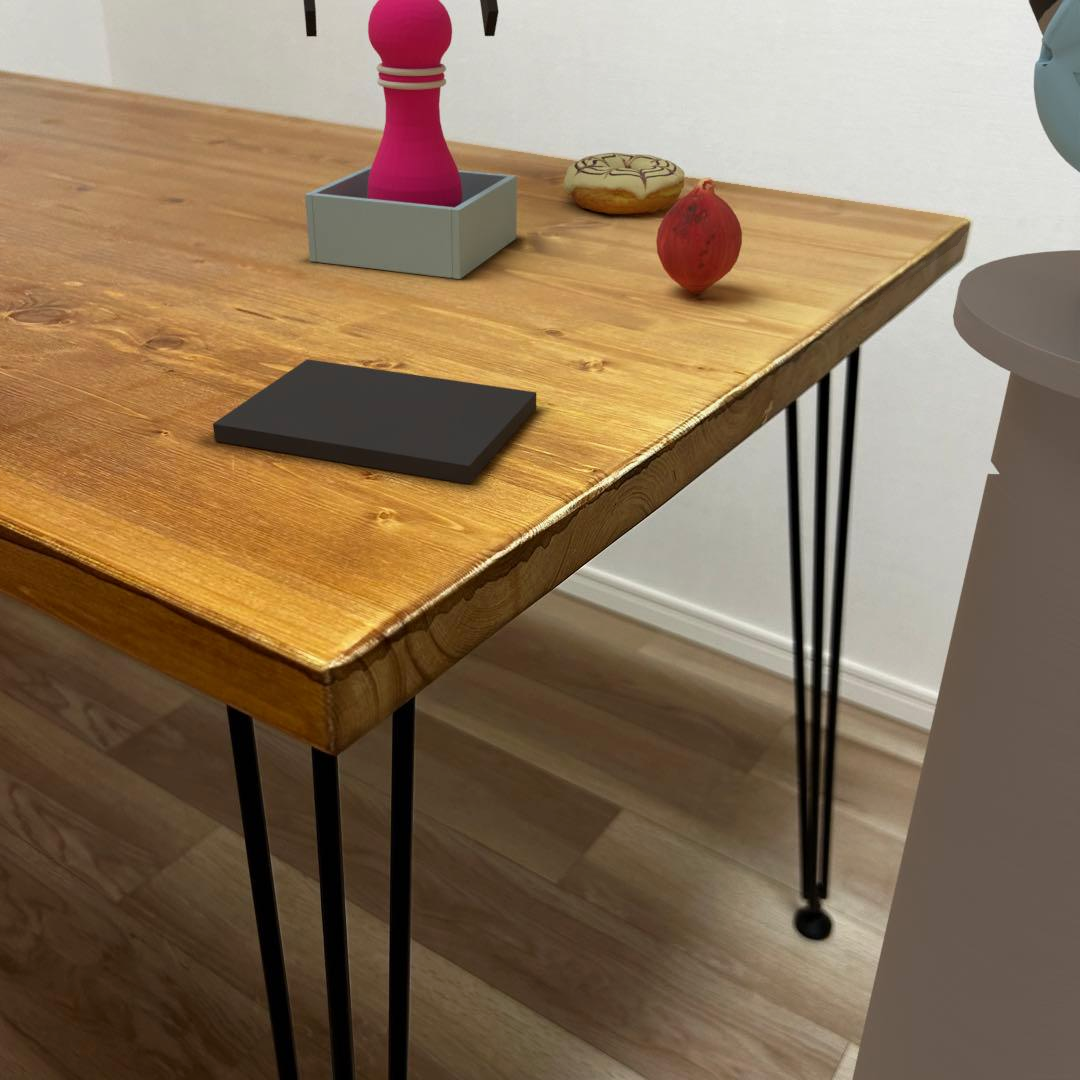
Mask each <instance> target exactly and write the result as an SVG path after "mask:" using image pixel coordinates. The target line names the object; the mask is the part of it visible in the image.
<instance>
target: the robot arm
mask: <svg viewBox="0 0 1080 1080" xmlns="http://www.w3.org/2000/svg"><path fill="white" fill-rule="evenodd" d="M479 2H480V3H479V4H480V11H481V19H482V25H483V32H484V36H485V37H495V35H496V29H497V24H498V17H499V3H498V0H479ZM1028 4H1029V6H1030V9H1031V10H1032V13H1033V16H1034V18H1035V21H1036V23H1037V25H1038V28H1039V31H1040V33H1041V36H1042V38H1041V47H1040V53H1039V57H1038V60H1037V61H1036V62H1035V64H1034V70H1033V96H1034V102H1035V108H1036V113H1037V115H1038V119H1039V122H1040V124H1041V126H1042V129H1043V131H1044V133H1045V134H1046V137H1047V138H1048V141H1049V142H1050V143H1051V145H1052V147H1053V148H1054V149H1055V150H1056V152H1057V153H1058V155H1059V156H1060V157H1062V159H1063V160H1064V161H1065V162H1066V163H1067V164H1068V165H1069V166H1070V167H1072V168H1073V169H1074V170H1076V171H1077V172H1078V173H1080V0H1028ZM316 9H317V8H316V0H303V11H304V22H305V23H304V24H305V34H306V38H307V37H309V38H310V37H318V36H317V35H318V34H317V31H318V29H317V10H316Z"/></svg>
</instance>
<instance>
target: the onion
mask: <svg viewBox="0 0 1080 1080" xmlns="http://www.w3.org/2000/svg"><path fill="white" fill-rule="evenodd" d="M716 186H717V185H716V182H715V181H714V180H713V179H712V178H711V177H704V178H701V179H699V180H698V182H697V183H696V184H695V186H694V187H693V189H692V190H691V191H690V192H689V193H687V194H686V195H684V196H683V197H681V198H680V199H677V202H675V203H674V204H672V206H671V207H670V209H668V211H667V212H666V214H665V215H664V217H663V218H662V220H661V222H660V224H659V227H658V229H657V234H656V235H657V236H656V238H655V239H656V240H655V241H656V252H657V256H658V258H659V261H660V263H661V265H662V268H663V270H664V271H665V272H666V274H668V276H669V278H671V279H672V281H674V282H675V283H676V284H678V285H679V286H680V287H682V288H683V289H684V290H686V292H688V293H689V294H692V295H700V294H702V293H704V292H705V291H706V290H707V289H708V288H709V287H711V286H713V285H714V284H716V283H717V282H719V281H720V280H722V279H723V278H724V277H725V276H726V275H728V274H729V273H730V272H731V270H732V269H733V268H734V266H735V264H736V263H737V261H738V260H739V257H740V252H741V248H742V245H743V232H742V227H741V223H740V221H739V218H738V216H737V214H736V213H735V212H734V210H733V208H731V206H730V205H729V204H728V203H727V202H726V201H725V199H723V198H721V197H720V196H719V195H718V194H717V193H715V188H716Z"/></svg>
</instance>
